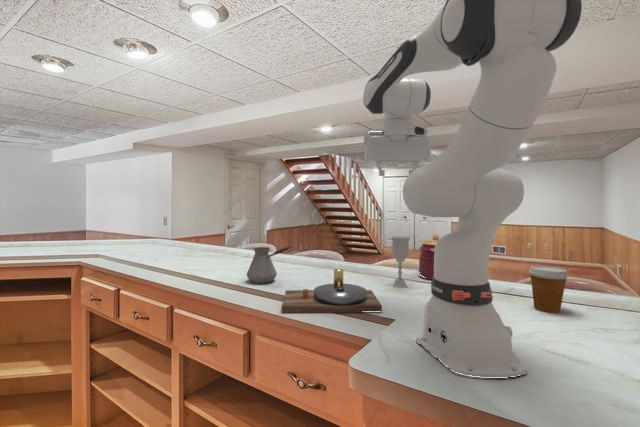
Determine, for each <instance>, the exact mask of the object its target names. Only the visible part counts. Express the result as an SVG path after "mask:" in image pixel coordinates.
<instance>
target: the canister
mask: <svg viewBox="0 0 640 427" xmlns="http://www.w3.org/2000/svg"><path fill="white" fill-rule="evenodd" d="M431 237H432V238H427V239H424V240H423V241H421V244H422V245H420V246H419V247H418V249H419V254H418V259H419V260H418V273H419V272H420V274H421V275H422V276H424V277H426V278H429V279H432V277H433V276H434V248H435V245H436V243H437V242H438V240H439V239H440V236H439V235H438V234H433V235H432V236H431ZM429 279H428V280H429Z"/></svg>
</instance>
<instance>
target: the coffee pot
mask: <svg viewBox="0 0 640 427" xmlns="http://www.w3.org/2000/svg"><path fill="white" fill-rule="evenodd" d="M290 249H291V251H290ZM270 250H271V247H268V246H267V247H266V246H260V247H253V251H254V255H253V257H252V261H251V263H250V265H249V268H248V271H247V273H246V277H247V279H248V280H249V281H251V283H252V282H253V284H256V283H259V285H261V284H262V285H263V284H264V283H265V284H269V283H271V282H273V281H274V279H275V278H276V277H277V275H278V273H277V271H276V270H277V269H275V266H274V263H273V261H272V258H271V257H273V256H276V255H279V254H282V253H284V252H285V251H288V252H290V253H292V252H293V250H294V249H293V247H291V245H289V246H287V247H286V246H285V247H284V248H280V249H278V250H276V251H274V252H273V253H271V254H269V252H270Z"/></svg>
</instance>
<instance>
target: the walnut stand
mask: <svg viewBox="0 0 640 427" xmlns="http://www.w3.org/2000/svg"><path fill="white" fill-rule="evenodd" d="M366 290H367V299H366V300H365V301H363V302H361V303H357V304H351V305H333V304H326V303H322V302H319V301H317V300H316V299H315V298H314V289H313V290H312V289H309V288H303V289H299V290H298V289H297V290H295V289H293V290H292V289H288V290H285V293H284V297H283V300H282V304H281V314H335V313H336V314H341V313H342V314H343V313H345V314H347V313H351V314H352V312H362V311H381V312H382V311H383V310H382V307H383V305H382V303H381V302H380V301H379V299H378V298H377V296H376V295H375V294H374V292H373V290H372V289H366Z"/></svg>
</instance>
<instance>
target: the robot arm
mask: <svg viewBox="0 0 640 427" xmlns="http://www.w3.org/2000/svg"><path fill="white" fill-rule="evenodd" d="M582 7H583V5H582V0H446V2H445V3H444V5H443V6H442V7H441V9H440V10H439V11H438V13H437V15H436V16H435V18H434V19H433V20H432V21H431V22H430V23H429V25H427V26H426V27H424V29H422V30H421V31H420V32H419V33H417V34H415V35H414V36H412V37H409V38H408V39H406V40H405V41H404V42H402V43H401V44H400V46H398V48H397V49H396V50H395V51H394V53H393V54H392V55H391V56H390V58H389V59H388V60H387V61H386V62H385V64H383V66H382V67H381V68H380V70H379V71H378V73H376V74H375V75H374V76H372V77H371V78H370V79H369V80H368V81H367V82H366V84H365V87H364V89H363V90H364V91H363V97H362V98H363V99H362V101H363V105H364V107H365V108H366V109H367V110H368V111H369V112H370V113H371V114H372V115H381V114H382V115H383V114H384V118H383V122H382V123H383V124H382V125H383V126H382V128H383V130H378V131H376V130H371V131H368V132H366V133H365V134H364V137H363V142H364V144H365V147H364V148H365V149H364V160H365V161H366V162H375V167H376V168H377V170H378V176H379V177H385V175H386V171H385V169H383V168H382V166H381V164H382V162H398V163H399V162H402V163H403V162H408V163H409V162H412V165H413V167H412V169H409V170H408V176H407V177H406V179H405V181H404V183H403V187H402V198H403V202H404V204H405V205H406V207H407V209H408V210H409V211H410V212H411V213H412V214H415V215H420V216H426V217H430V218H458V219H457V220H458V221H457V223H456V224H455V225H456V226H455V227H454V228H453V230H452V231H450V232H449V233H447V234H445V235H443V236H442V237H439V240H438V242H437V243H436V245H435V248H434V276H433V277H432V280H431V282H430V289H431V291H430V292H431V294H432V296H431V297H430V299H429V300H428V302H427V303H426V304H425V305H424V313H423V323H422V324H423V325H422V334H420V335H417V336H416V339H415V341H416V340H417V341H418V342H419V343H420V344H421V345H422V346H423V347H424V348H426V349H427V350H428V351H429V352H430V353H432V354H433V355H434V356H436V357H437V358H438V359H440V360H441V361H442V362H443V363H444V364H445V365H447V366H448V367H449V368H450V369H451V370H453V371H454V372H458V373H462V374H465V375H472V376H480V377H481V376H482V377H511V376H518V375H522V374H524V373H526V372H527V373H528V371H527V370H528V369H527V367H526V365H525V364H524V363H523V362H522V361H521V360H520V358H518V356H517V355H516V354H515V352H513V344H512V343H513V342H512V338H513V330H512V327H511V326H509V325H505V324H504V322H503V320H502V319H501V316H500V314H499V313H498V311H497V310H496V308H495V307H494V304H493V299H494V297H493V294H494V292H493V291H492V288H491V284H490V282H489V280H488V279H489V262H490V261H489V260H490V252H491V246H492V242H493V240H494V237H495V235H496V234H497V231H498V230H499V227H501V225H502V224H503V223H504V221H505V220H506V219H507V218H508V217H509V216H510V215H511V214H513V213H515V212H516V211H517V210H518V209H519V208H520V206H521V204H522V202H523V200H524V196H525V187H524V184H523V181H522V179H521V177H520V176H519V175H518V174H517V173H516V172H515V171H511V170H507V169H503V168H502V167H503V166H505V165H507V164H508V163H509V162H511V161H512V160H513V159H514V158H515V156H516V155H517V152H518V151H519V149H520V147H521V146H522V144H523V143H524V140H525V139H526V137H527V135H528V133H529V132H530V130H531V129H532V128H533V125H534V123H535V122H536V120H537V118H538V116H539V114H540V113H541V110H542V109H543V106H544V105H545V102H546V100H547V98H548V95H549V93H550V90H551V87H552V85H553V81H554V79H555V75H556V73H557V61H556V59H555V58H556V57H555V56H554V55H553V54H552V53H551V52H552V51H554V50H557V49H559V48H560V47H562V46H563V45H565V43H567V42H568V41H569V40H570V38H571V37H572V35H573V34H574V33H575V32H576V29H577V27H578V24H579V23H580V19H581V17H582V16H581V15H582V10H583V8H582ZM477 63H479V66H480V78H479V81H478V84H477V87H476V89H475V91H474V93H473V95H472V98H471V100H470V102H469V105H468V107H467V110H466V112H465V114H464V117H463V119H462V121H461V123H460V125H459V128H458V129H457V132H456V134H455V135H454V137H453V139H452V140H451V141H450V142H449V144H448V145H447V147H446V148H445V149H444V150H443V151H442V152H440V154H438V155H437V156H435V158H434V159H431V158H432V157H431V156H432V147H431V141H430V139H429V137H428V133H429V130H428V128H426V127H423V126H420V125H417V124H415V123H413V118H412V117H413V115H417V114H421V113H423V112H424V111H425V110H426V109H427V108H428V107H429V106H430V104H431V98H432V97H431V96H432V95H431V94H432V93H431V92H432V91H431V87H430V85H429V84H428V82H427V81H426V80H425V79H423V78H416V77H415V78H414V77H413V78H412V77H410V75H411V76H412V75H414V74H421V73H428V72H429V73H430V72H442V71H443V72H444V71H450V70H453V69H455V68H458V67H460V66H461V65H462V64H463V65H465V66H467V67H470V66H473V65H476V64H477ZM430 159H431V161H430ZM429 161H430V162H429ZM423 162H427V163H426V164H425V165H423V166H421V167H419V165H420V163H423ZM418 167H419V168H418ZM422 346H421V347H422ZM423 347H422V348H423ZM424 348H423V349H424ZM428 351H427V352H428ZM429 352H428V353H429ZM430 353H429V354H430ZM434 356H433V357H434ZM527 373H526V374H527Z"/></svg>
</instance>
